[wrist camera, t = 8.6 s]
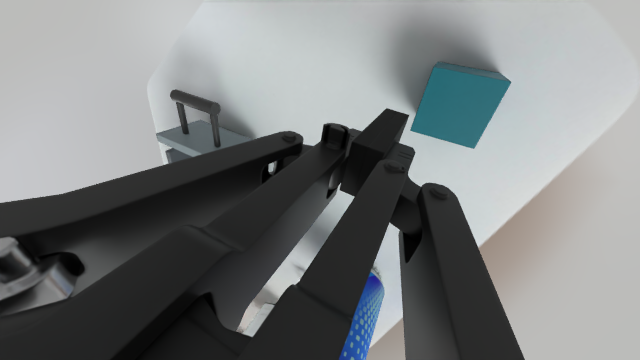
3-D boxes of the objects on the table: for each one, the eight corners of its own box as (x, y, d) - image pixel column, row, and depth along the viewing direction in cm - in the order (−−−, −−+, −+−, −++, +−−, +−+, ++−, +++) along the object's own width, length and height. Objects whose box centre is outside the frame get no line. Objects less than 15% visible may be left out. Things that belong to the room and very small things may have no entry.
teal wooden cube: (438, 61, 21) (433, 66, 17) (501, 73, 19) (511, 81, 15) (417, 115, 24) (410, 130, 20) (471, 130, 22) (474, 149, 18)
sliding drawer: (193, 80, 34) (142, 88, 29) (256, 99, 31) (211, 113, 25) (211, 186, 45) (177, 207, 40) (259, 209, 42) (228, 236, 36)
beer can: (333, 253, 40) (277, 350, 27) (382, 262, 35) (342, 381, 23) (343, 288, 43) (297, 389, 31) (389, 300, 39) (357, 422, 26)
